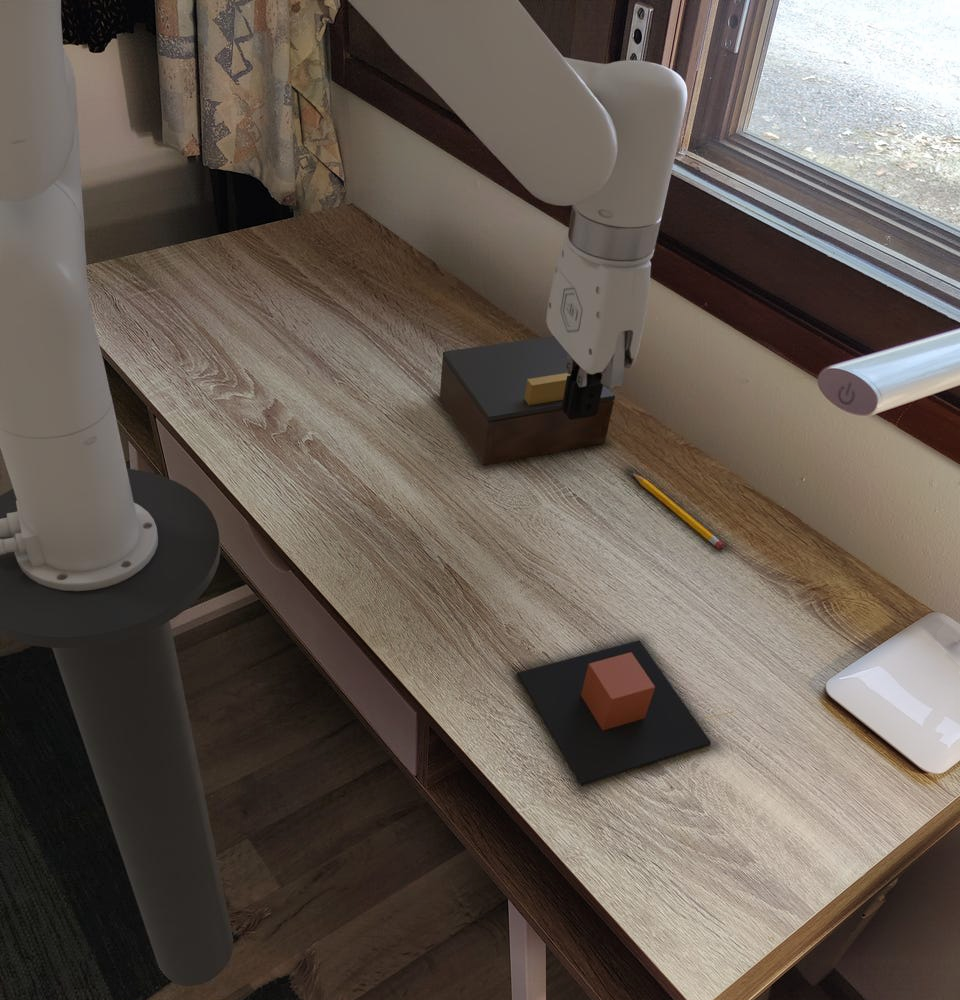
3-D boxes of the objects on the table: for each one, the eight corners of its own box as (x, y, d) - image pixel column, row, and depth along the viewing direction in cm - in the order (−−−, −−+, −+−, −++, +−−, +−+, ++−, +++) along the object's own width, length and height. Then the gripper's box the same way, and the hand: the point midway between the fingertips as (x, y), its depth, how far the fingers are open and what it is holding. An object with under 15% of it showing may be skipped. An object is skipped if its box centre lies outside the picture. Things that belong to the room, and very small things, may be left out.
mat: (580, 786, 77) (581, 783, 76) (517, 675, 84) (517, 672, 84) (710, 745, 81) (711, 742, 80) (638, 643, 88) (639, 639, 88)
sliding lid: (488, 421, 100) (491, 396, 97) (442, 356, 107) (444, 331, 105) (614, 400, 104) (619, 375, 102) (562, 339, 112) (566, 314, 110)
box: (483, 465, 103) (488, 422, 100) (439, 399, 111) (442, 357, 107) (604, 443, 108) (614, 401, 104) (555, 381, 116) (561, 339, 112)
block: (602, 730, 80) (611, 699, 77) (580, 695, 83) (588, 663, 80) (645, 718, 81) (655, 687, 79) (621, 683, 84) (631, 651, 81)
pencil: (717, 550, 98) (719, 545, 97) (628, 476, 105) (630, 471, 104) (723, 547, 98) (724, 542, 98) (634, 474, 105) (635, 469, 105)
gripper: (536, 196, 87) (513, 378, 100) (616, 276, 78) (579, 464, 91) (610, 189, 89) (578, 367, 103) (696, 266, 80) (649, 451, 94)
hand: (579, 413), depth 97 cm, fingers closed
